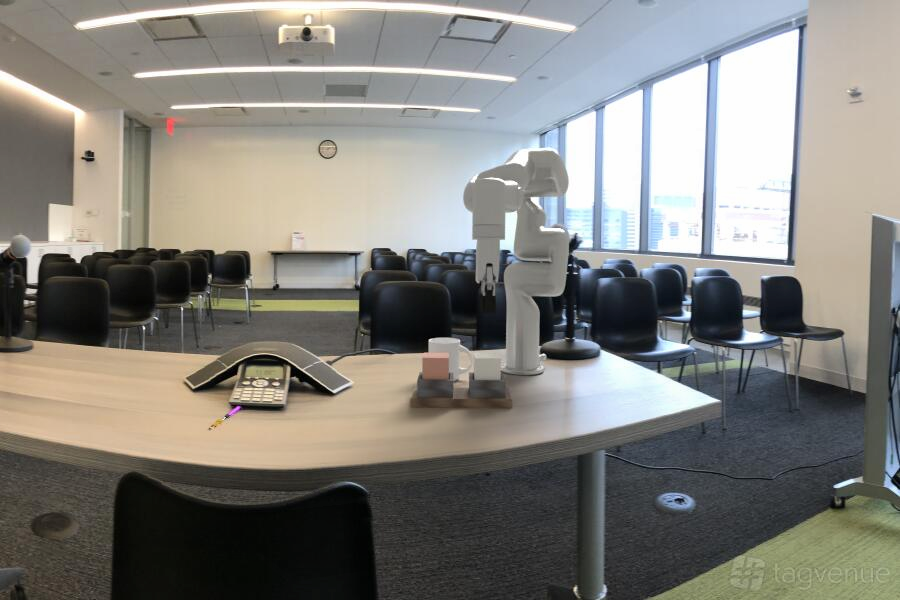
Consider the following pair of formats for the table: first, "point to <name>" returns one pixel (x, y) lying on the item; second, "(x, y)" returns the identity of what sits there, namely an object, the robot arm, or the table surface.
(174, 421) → the table surface
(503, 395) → the key panel
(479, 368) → the cream key
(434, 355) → the terracotta key
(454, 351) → the mug
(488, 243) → the robot arm
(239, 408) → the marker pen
